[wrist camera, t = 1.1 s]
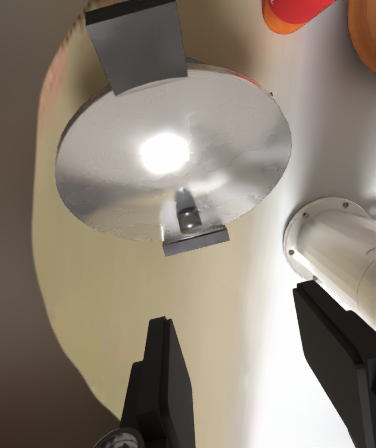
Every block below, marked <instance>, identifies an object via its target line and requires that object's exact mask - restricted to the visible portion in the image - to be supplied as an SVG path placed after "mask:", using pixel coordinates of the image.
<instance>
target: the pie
mask: <svg viewBox="0 0 376 448" xmlns="http://www.w3.org/2000/svg"><path fill="white" fill-rule="evenodd" d="M348 28H349V32H350V36H351V40H352V44H353V46H354V48H355V50H356V52H357V54H358V55H359V57H360V59H361V61H362V63H364V64H365V65H366V66H367V67H368V68H370V69H371V70H372V71H373V72H374V73H375V74H376V0H348Z"/></svg>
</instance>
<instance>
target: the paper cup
mask: <svg viewBox="0 0 376 448" xmlns="http://www.w3.org/2000/svg"><path fill="white" fill-rule="evenodd" d="M335 1H336V0H264V2H263V9H262V11H263V17H264V20H265V23H266V24H267V26H268V27H269V28H270V29H271V30H272V31H274V32H275V33H278V34H290V33H292V32H294V31H296V30H298V29H299V28H301V27H302V26H303V25H305V24H306V23H307V22H309V21H310V20H311V19H313V18H314V17H315V16H317V15H318V14H319V13H321V12H322V11H323V10H325V9H326V8H327V7H328V6H330V5H331V4H332V3H334V2H335Z"/></svg>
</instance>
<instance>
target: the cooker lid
mask: <svg viewBox="0 0 376 448" xmlns="http://www.w3.org/2000/svg"><path fill="white" fill-rule="evenodd" d="M85 22H86V28H87V30H88V33H89V35H90V37H91V40H92V42H93V45H94V47H95V49H96V52H97V54H98V57H99V59H100V61H101V64H102V66H103V68H104V71H105V73H106V76H107V78H108V80H109V83H110V85H108V86H107V87H105V88H104V89H102V90H101V91H99V92H98V93H96V94H95V95H93V96H92V97H91V98H90V99H89V100H88V101H86V102H85V103H84V104H83V105H82V106H81V107H80V108H79V109H78V110H77V111H76V113H75V114H74V115H73V116H72V118H71V119H70V120H69V122H68V123H67V125H66V127H65V129H64V130H63V132H62V134H61V137H60V140H59V143H58V146H57V152H56V159H55V179H56V186H57V189H58V193H59V195H60V197H61V199H62V201H63V203H64V205H65V206H66V207H67V208H68V210H69V211H70V212H71V213H72V214H73V215H74V216H75V217H76V218H77V219H79V220H80V221H82V222H83V223H84V224H86V225H88V226H89V227H91V228H93V229H95V230H97V231H100V232H102V233H105V234H108V235H112V236H115V237H119V238H124V239H131V240H142V241H161V240H165V243H166V244H167V243H171V242H175V241H179V240H183V239H187V238H191V237H195V236H199V235H202V234H206V233H210V232H214V231H218V230H222V229H223V227H222V225H225V224H227V223H229V222H231V221H233V220H235V219H236V218H238V217H240V216H241V215H243V214H245V213H246V212H248V211H249V210H250V209H252V208H253V207H255V206H256V205H257V204H258V203H259V202H261V201H262V200H263V199H264V198H265V197H266V196H267V195H268V194H269V193H270V192H271V191H272V189H273V188H274V187H275V186H276V184H277V183H278V182H279V180H280V178H281V177H282V175H283V173H284V171H285V169H286V167H287V165H288V162H289V158H290V155H291V146H292V141H291V132H290V129H289V125H288V122H287V120H286V119H285V117H284V115H283V113H282V111H281V109H280V107H279V106H278V104H277V102H276V100H275V99H274V98H273V97H272V96H271V94H270V93H269V92H268V91H267V90H266V89H265V88H264V87H262V86H261V85H260V84H259V83H257V82H256V81H254V80H252V79H251V78H249V77H247V76H245V75H244V74H241V73H238V72H236V71H233V70H230V69H227V68H223V67H218V66H213V65H206V64H186V60H185V54H184V48H183V42H182V35H181V29H180V23H179V17H178V10H177V4H176V0H128V1H125V2H121V3H117V4H114V5H110V6H106V7H103V8H99V9H96V10H92V11H88V12H85Z"/></svg>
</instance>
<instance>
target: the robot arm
mask: <svg viewBox="0 0 376 448" xmlns="http://www.w3.org/2000/svg"><path fill="white" fill-rule="evenodd" d="M343 203H344V204H343ZM303 213H305V214H304V215H303ZM283 248H284V254H285V257H286V260H287V262H288V263H289V265H290V267H291V268H292V269H293V270H294V271H295V272H296V273H297V274H298V275H299V276H300V277H302V278H304V279H306V280H308V281H305V282H301V283H298V284H297V288H294V289H293V296H294V302H295V308H296V313H297V319H298V324H299V330H300V336H301V341H302V347H303V352H304V355H305V358H306V360H307V362H308V364H309V366H310V367H311V369H312V371H313V372H314V374H315V376H316V377H317V379H318V381H319V382H320V384H321V386H322V387H323V389H324V391H325V392H326V394H327V395H328V397H329V399H330V400H331V402H332V404H333V405H334V407H335V409H336V410H337V412H338V414H339V415H340V417H341V419H342V420H343V422H344V423H345V425H346V427H347V428H348V430H349V432H350V433H351V435H352V437H353V438H354V440H355V442H356V443H357V445H358V447H359V448H376V220H374V219H371V218H370V217H369V215H368V214H367V213H366V211H365V210H364V209H363V208H362V207H360V206H359V205H358V204H356V203H354V202H352V201H350V200H347V199H344V198H338V197H325V198H321V199H317V200H315V201H313V202H311V203H308V204H307V205H306V206H304V207H303V208H301V209H300V210H299V211H298V212H297V213H296V214H295V215H294V217H293V218H292V219H291V221H290V222H289V224H288V226H287V228H286V231H285V235H284V242H283ZM289 250H291V251H290V252H289ZM318 283H321V284H325V285H326V286H327V287H328V288H329V289H330V290H331V291H332V292H333V293H334V294H336V295H337V296H338V297H339V298H340V299H341V300H342V301H343V302H344V303H345V304H346V305H347V306H348V307H350V308H351V309H352V310H353V311H352V310H349V311H345V310H344V309H343V308H342V307H341V306H340V305H339V304H338V303H337V302H336V301H335V300H334V299H333V298H332V297H331V296H330V295H329V294H328V293H327V292H326V291H325V290H324V289H323V288H322V287H321V286H320V285H319V284H318ZM94 448H196V447H195V431H194V415H193V399H192V387H191V382H190V378H189V374H188V371H187V368H186V364H185V361H184V358H183V354H182V351H181V348H180V345H179V341H178V338H177V335H176V331H175V328H174V325H173V321H172V319H168V320H167V319H166V317H165V316H163V317H159V318H155V319H151V320H150V321H149V327H148V333H147V339H146V346H145V352H144V359H143V361H139V362H135V363H133V365H132V368H131V373H130V378H129V383H128V388H127V393H126V398H125V403H124V408H123V413H122V418H121V423H120V428H119V429H117V430H114V431H112V432H110V433H109V434H107V435H106V436H104V437H103V438H102V439H101V440H100V441H99V442H98V443H97V444H96V445H95V447H94Z"/></svg>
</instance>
